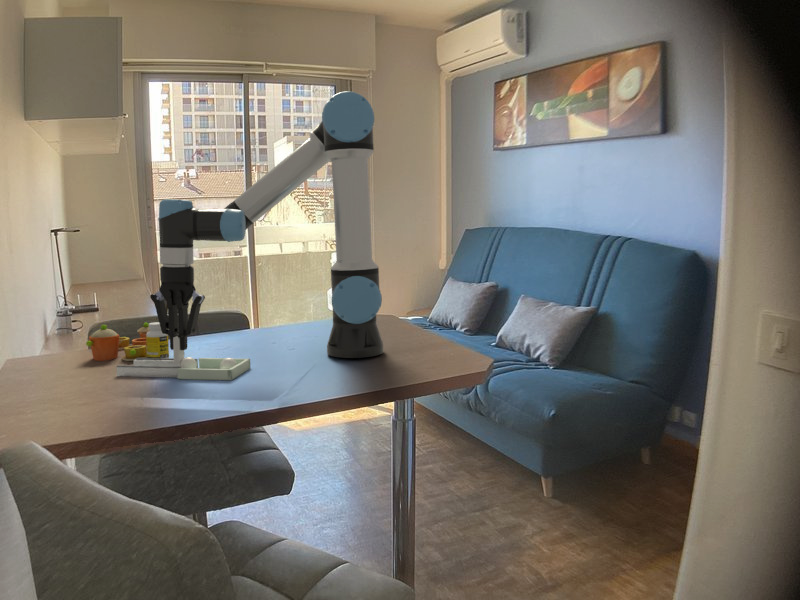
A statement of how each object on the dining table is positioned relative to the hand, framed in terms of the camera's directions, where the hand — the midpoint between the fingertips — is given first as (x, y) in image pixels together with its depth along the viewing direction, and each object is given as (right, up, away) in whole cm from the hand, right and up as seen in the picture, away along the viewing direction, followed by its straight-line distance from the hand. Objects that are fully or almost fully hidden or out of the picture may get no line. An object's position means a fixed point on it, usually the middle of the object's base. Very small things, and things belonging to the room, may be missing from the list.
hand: (179, 363), depth 152 cm
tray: (+9, -2, -1) cm, 9 cm away
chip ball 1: (+1, -1, 0) cm, 1 cm away
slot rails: (-5, -2, +1) cm, 6 cm away
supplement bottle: (-11, -1, +16) cm, 19 cm away
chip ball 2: (+11, 0, -1) cm, 11 cm away
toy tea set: (-23, 0, +25) cm, 34 cm away
